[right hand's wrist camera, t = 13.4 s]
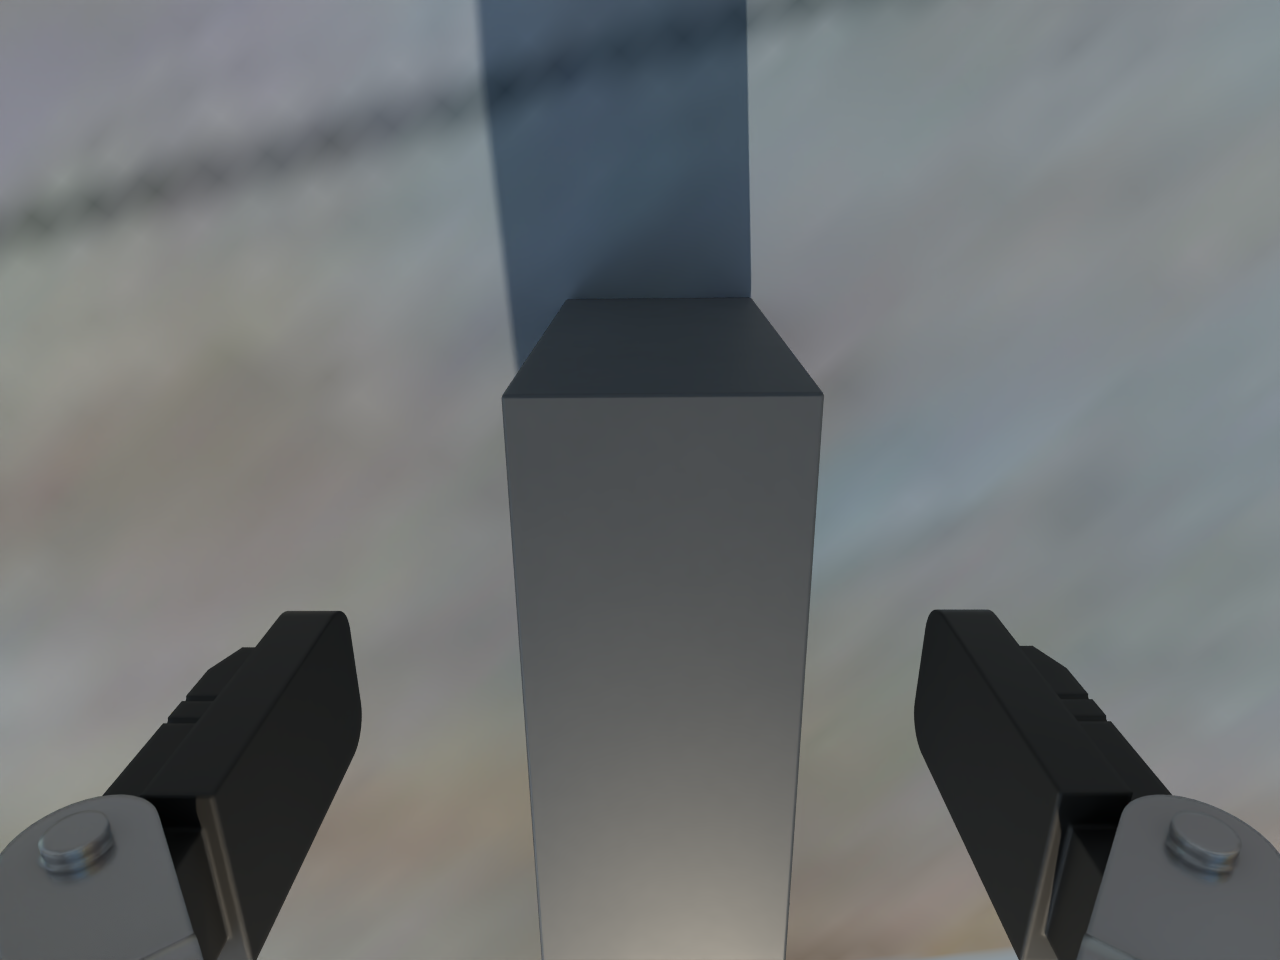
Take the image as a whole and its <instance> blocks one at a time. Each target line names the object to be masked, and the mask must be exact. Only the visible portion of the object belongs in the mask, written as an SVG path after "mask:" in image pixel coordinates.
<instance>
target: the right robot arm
mask: <svg viewBox="0 0 1280 960" xmlns="http://www.w3.org/2000/svg"><path fill="white" fill-rule="evenodd" d="M361 721H362V710H361V701H360V694H359V687H358V680H357V673H356V667H355V660H354V653H353V646H352V639H351V632H350V627H349V622H348V619H347V617H346V615H345V614H344V613H343V612H342V611H286V612H284V613H282V614H281V615H280V616H279V618H278V619H277V620H276V622H275V623H274V624H273V625H272V627H271V628H270V629H269V630H268V632H267V633H266V634H265V636H264V637H263V638H262V639H261V641H260V642H259V643H258V645H257V646H256V647H242V648H241V649H239V650H238V651H236V652H235V653H233V654H232V655H230V656H229V657H227V658H226V659H224V660H223V661H221V662H219V663H218V664H216V665H215V666H213V667H212V668H210V669H209V670H208V671H207V672H206V673H205V674H204V675H203V677H202V678H201V679H200V680H199V681H198V683H197V684H196V685H195V686H194V687H193V689H192V690H191V691H190V692H189V693H188V694H187V696H186V701H182V702H181V703H180V704H179V705H178V706H177V708H176V709H175V710H174V711H173V712H172V714H171V715H170V716H169V717H168V722H167V723H163V724H162V725H161V727H160V728H159V729H158V730H157V731H156V733H155V734H154V735H153V736H152V737H151V739H150V740H149V741H148V742H147V743H146V744H145V746H144V747H143V748H142V749H141V750H140V752H139V753H138V754H137V755H136V756H135V758H134V759H133V760H132V761H131V762H130V764H129V765H128V766H127V767H126V768H125V769H124V771H123V772H122V773H121V774H120V775H119V777H118V778H117V779H116V780H115V781H114V783H113V784H112V785H111V786H110V787H109V789H108V790H107V791H106V792H105V793H104V795H103V796H100V797H95V798H91V799H86V800H83V801H80V802H77V803H74V804H71V805H69V806H66V807H64V808H61V809H59V810H57V811H55V812H53V813H51V814H49V815H47V816H45V817H43V818H42V819H40V820H38V821H37V822H35V823H34V824H32V825H31V826H29V827H28V828H27V829H25V830H24V831H23V832H21V833H20V834H19V835H18V836H17V837H16V838H14V839H13V840H12V841H11V842H10V843H9V844H8V845H7V846H6V848H5V849H4V850H3V851H2V852H1V854H0V960H257V958H258V955H259V953H260V951H261V949H262V947H263V945H264V943H265V941H266V939H267V937H268V934H269V932H270V930H271V928H272V926H273V924H274V922H275V920H276V918H277V916H278V914H279V911H280V909H281V907H282V905H283V903H284V901H285V899H286V897H287V895H288V893H289V890H290V888H291V886H292V884H293V882H294V880H295V878H296V876H297V874H298V872H299V869H300V867H301V865H302V863H303V861H304V859H305V857H306V855H307V853H308V851H309V849H310V846H311V844H312V842H313V840H314V838H315V836H316V834H317V832H318V830H319V828H320V825H321V823H322V821H323V819H324V817H325V815H326V813H327V811H328V809H329V807H330V805H331V802H332V800H333V798H334V796H335V794H336V792H337V790H338V788H339V786H340V784H341V781H342V779H343V777H344V775H345V773H346V771H347V769H348V767H349V765H350V763H351V760H352V758H353V756H354V754H355V752H356V749H357V746H358V742H359V737H360V731H361ZM914 721H915V731H916V737H917V741H918V745H919V748H920V751H921V753H922V755H923V757H924V759H925V762H926V764H927V766H928V768H929V770H930V772H931V774H932V776H933V779H934V781H935V783H936V785H937V787H938V789H939V791H940V793H941V796H942V798H943V800H944V802H945V804H946V806H947V808H948V810H949V812H950V815H951V817H952V819H953V821H954V823H955V825H956V827H957V829H958V832H959V834H960V836H961V838H962V840H963V842H964V844H965V846H966V849H967V851H968V853H969V855H970V857H971V859H972V861H973V863H974V866H975V868H976V870H977V872H978V874H979V876H980V878H981V880H982V883H983V885H984V887H985V889H986V891H987V893H988V895H989V897H990V899H991V902H992V904H993V906H994V908H995V910H996V912H997V914H998V916H999V919H1000V921H1001V923H1002V925H1003V927H1004V929H1005V931H1006V933H1007V936H1008V938H1009V940H1010V942H1011V944H1012V946H1013V948H1014V950H1015V953H1016V955H1017V957H1018V959H1019V960H1280V854H1279V852H1278V851H1277V850H1276V849H1275V848H1274V846H1273V845H1272V844H1271V843H1270V842H1269V841H1268V840H1267V839H1266V838H1264V837H1263V836H1262V835H1261V834H1260V833H1259V832H1257V831H1256V830H1255V829H1253V828H1252V827H1251V826H1249V825H1248V824H1246V823H1245V822H1243V821H1242V820H1240V819H1238V818H1237V817H1235V816H1233V815H1231V814H1229V813H1227V812H1225V811H1223V810H1221V809H1219V808H1216V807H1214V806H1211V805H1209V804H1206V803H1203V802H1200V801H1197V800H1194V799H1189V798H1185V797H1180V796H1173V795H1172V794H1171V793H1170V792H1169V791H1168V789H1167V788H1166V787H1165V786H1164V785H1163V783H1162V782H1161V781H1160V780H1159V779H1158V777H1157V776H1156V775H1155V774H1154V773H1153V771H1152V770H1151V769H1150V768H1149V767H1148V765H1147V764H1146V763H1145V762H1144V761H1143V759H1142V758H1141V757H1140V756H1139V755H1138V753H1137V752H1136V751H1135V750H1134V749H1133V747H1132V746H1131V745H1130V744H1129V743H1128V741H1127V740H1126V739H1125V738H1124V737H1123V735H1122V734H1121V733H1120V732H1119V731H1118V729H1117V728H1116V727H1115V726H1114V725H1113V723H1112V722H1111V721H1107V720H1106V715H1105V714H1104V713H1103V711H1102V710H1101V709H1100V708H1099V707H1098V705H1097V704H1096V703H1095V702H1094V701H1093V699H1088V693H1087V692H1086V691H1085V690H1084V689H1083V687H1082V686H1081V685H1080V684H1079V683H1078V681H1077V680H1076V679H1075V678H1074V677H1073V675H1072V674H1071V673H1070V672H1069V671H1068V669H1067V668H1066V667H1064V666H1062V665H1061V664H1059V663H1058V662H1056V661H1055V660H1053V659H1052V658H1050V657H1049V656H1047V655H1046V654H1044V653H1043V652H1041V651H1040V650H1038V649H1036V648H1035V647H1033V646H1019V644H1018V643H1017V642H1016V641H1015V639H1014V638H1013V637H1012V635H1011V634H1010V633H1009V632H1008V630H1007V629H1006V628H1005V626H1004V625H1003V624H1002V623H1001V621H1000V620H999V619H998V617H997V616H996V615H995V614H994V613H993V612H992V611H990V610H933V611H932V612H931V613H930V615H929V617H928V620H927V623H926V629H925V635H924V642H923V649H922V656H921V663H920V670H919V677H918V684H917V691H916V698H915V706H914Z"/></svg>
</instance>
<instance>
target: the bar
mask: <svg viewBox="0 0 1280 960" xmlns="http://www.w3.org/2000/svg"><path fill="white" fill-rule="evenodd" d="M823 400H824V395H823V392H822V391H821V390H820V388H819V387H818V386H817V385H816V383H815V382H814V381H813V379H812V378H811V377H810V375H809V374H808V373H807V371H806V370H805V369H804V367H803V366H802V365H801V363H800V362H799V361H798V359H797V358H796V357H795V355H794V354H793V353H792V351H791V350H790V349H789V348H788V346H787V345H786V344H785V342H784V341H783V340H782V338H781V337H780V336H779V334H778V333H777V332H776V330H775V329H774V328H773V326H772V325H771V324H770V322H769V321H768V320H767V318H766V317H765V316H764V314H763V313H762V312H761V311H760V309H759V308H758V307H757V305H756V304H755V303H754V301H753V300H752V299H751V298H663V299H568V300H566V301H565V303H564V304H563V306H562V307H561V309H560V310H559V312H558V313H557V315H556V316H555V318H554V319H553V321H552V322H551V324H550V325H549V327H548V328H547V330H546V331H545V333H544V334H543V336H542V337H541V339H540V340H539V342H538V343H537V345H536V346H535V348H534V349H533V351H532V352H531V354H530V355H529V357H528V358H527V360H526V361H525V362H524V364H523V365H522V367H521V368H520V370H519V371H518V373H517V374H516V376H515V377H514V379H513V380H512V382H511V383H510V385H509V386H508V388H507V389H506V391H505V392H504V394H503V395H502V410H503V424H504V438H505V452H506V466H507V480H508V494H509V508H510V522H511V536H512V550H513V564H514V578H515V592H516V605H517V619H518V633H519V647H520V661H521V675H522V689H523V703H524V717H525V731H526V745H527V759H528V773H529V787H530V801H531V815H532V829H533V843H534V857H535V870H536V884H537V898H538V912H539V926H540V940H541V954H542V960H785V959H786V944H787V930H788V915H789V900H790V885H791V871H792V856H793V841H794V827H795V812H796V797H797V783H798V768H799V753H800V738H801V724H802V709H803V694H804V680H805V665H806V650H807V636H808V621H809V606H810V591H811V577H812V562H813V547H814V533H815V518H816V503H817V488H818V474H819V459H820V444H821V430H822V415H823Z"/></svg>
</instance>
